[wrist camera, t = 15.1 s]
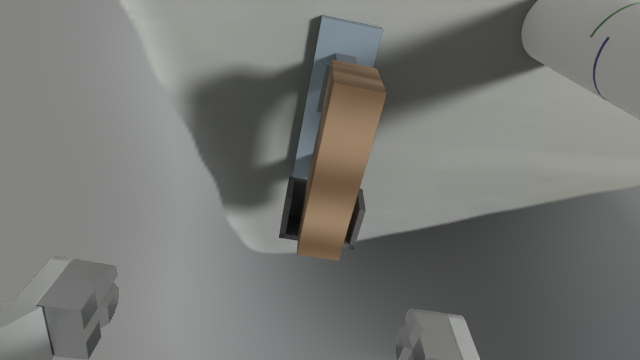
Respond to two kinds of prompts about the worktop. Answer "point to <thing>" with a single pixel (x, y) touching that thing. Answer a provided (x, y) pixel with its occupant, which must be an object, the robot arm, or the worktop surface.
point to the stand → (336, 44)
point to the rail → (339, 157)
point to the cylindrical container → (590, 45)
